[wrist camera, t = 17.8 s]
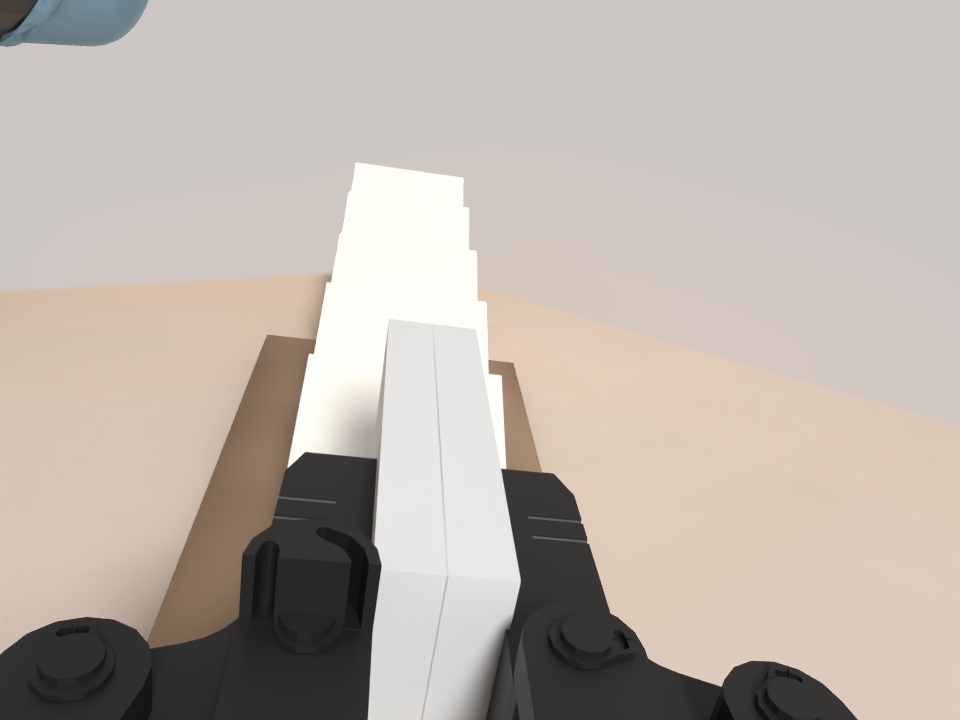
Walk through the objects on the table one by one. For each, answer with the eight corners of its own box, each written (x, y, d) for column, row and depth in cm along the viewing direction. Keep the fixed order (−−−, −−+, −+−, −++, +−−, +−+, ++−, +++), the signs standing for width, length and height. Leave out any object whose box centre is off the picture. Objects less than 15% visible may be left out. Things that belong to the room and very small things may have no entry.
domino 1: (460, 336, 33) (463, 177, 39) (331, 321, 32) (355, 162, 38) (454, 362, 34) (458, 204, 40) (329, 348, 33) (353, 190, 40)
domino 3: (479, 471, 24) (477, 251, 31) (301, 453, 23) (339, 232, 30) (469, 503, 25) (469, 283, 32) (300, 487, 24) (337, 266, 31)
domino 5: (521, 774, 15) (501, 375, 22) (231, 759, 14) (308, 353, 21) (504, 806, 16) (490, 416, 23) (233, 794, 15) (306, 396, 22)
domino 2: (468, 391, 28) (469, 207, 35) (318, 375, 28) (349, 191, 34) (460, 420, 30) (462, 237, 36) (317, 405, 29) (346, 221, 36)
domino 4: (495, 585, 19) (486, 302, 27) (275, 567, 19) (326, 282, 26) (483, 618, 21) (477, 338, 28) (274, 603, 20) (324, 320, 27)
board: (5, 1036, 12) (2, 1011, 12) (266, 348, 34) (267, 334, 33) (674, 1039, 13) (683, 1017, 13) (510, 375, 35) (513, 362, 35)
